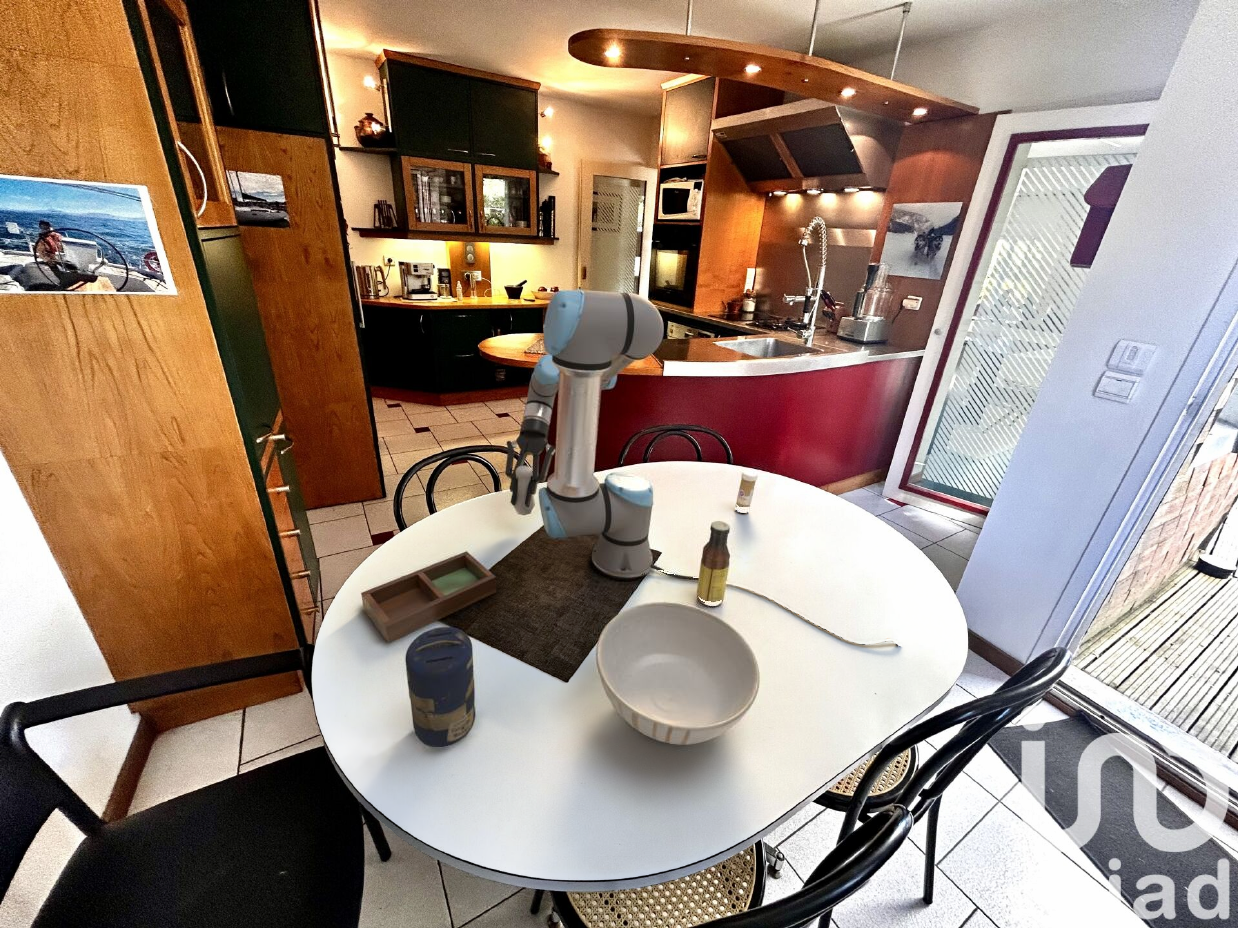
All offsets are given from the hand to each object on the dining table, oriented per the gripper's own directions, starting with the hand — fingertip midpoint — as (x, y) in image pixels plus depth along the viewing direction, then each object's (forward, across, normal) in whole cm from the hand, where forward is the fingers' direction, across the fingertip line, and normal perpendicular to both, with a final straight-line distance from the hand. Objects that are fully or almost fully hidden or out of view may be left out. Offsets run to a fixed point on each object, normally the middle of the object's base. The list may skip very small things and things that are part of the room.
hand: (519, 504), depth 127 cm
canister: (+47, -3, +33) cm, 57 cm away
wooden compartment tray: (+27, +12, +13) cm, 32 cm away
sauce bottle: (+19, -49, +5) cm, 52 cm away
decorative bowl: (+40, -39, +26) cm, 62 cm away
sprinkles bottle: (-13, -63, -26) cm, 69 cm away
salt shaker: (0, 0, -6) cm, 6 cm away
